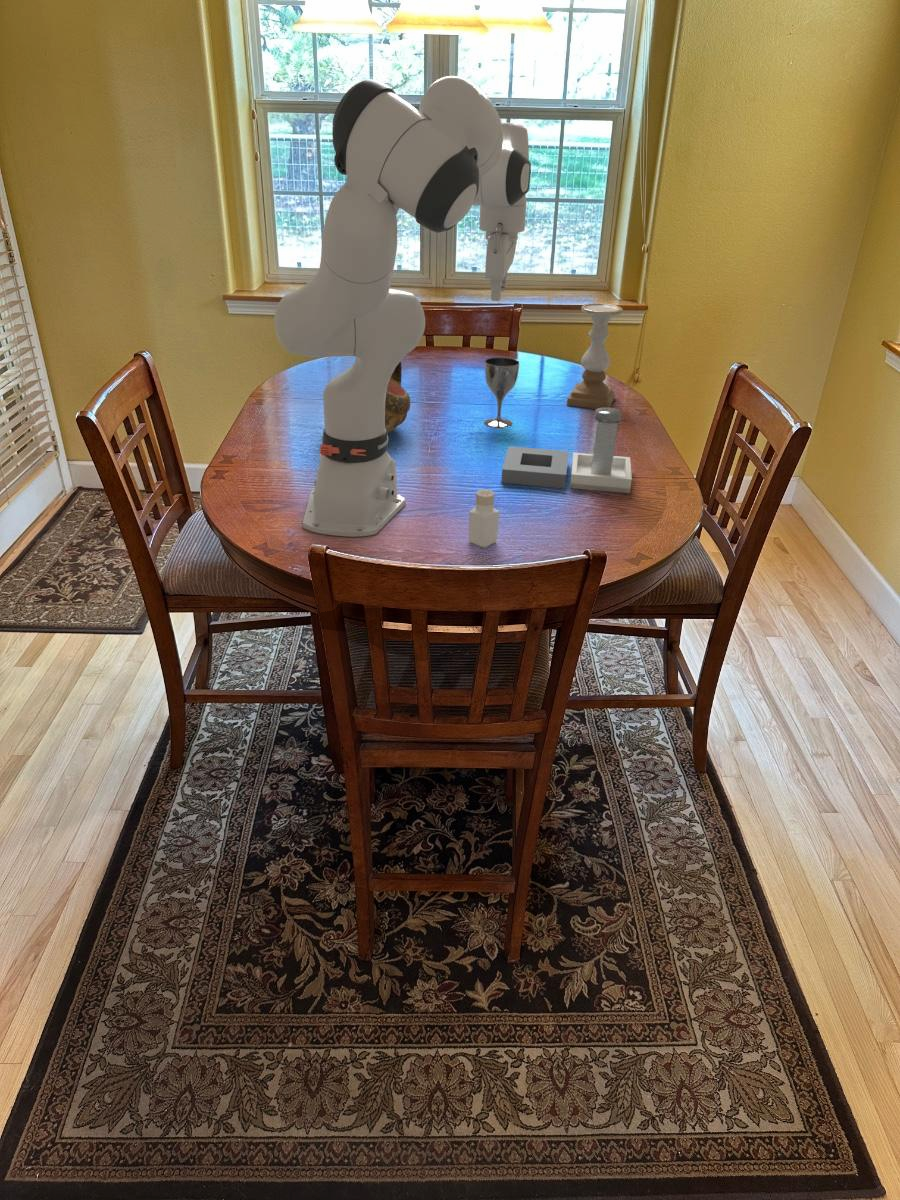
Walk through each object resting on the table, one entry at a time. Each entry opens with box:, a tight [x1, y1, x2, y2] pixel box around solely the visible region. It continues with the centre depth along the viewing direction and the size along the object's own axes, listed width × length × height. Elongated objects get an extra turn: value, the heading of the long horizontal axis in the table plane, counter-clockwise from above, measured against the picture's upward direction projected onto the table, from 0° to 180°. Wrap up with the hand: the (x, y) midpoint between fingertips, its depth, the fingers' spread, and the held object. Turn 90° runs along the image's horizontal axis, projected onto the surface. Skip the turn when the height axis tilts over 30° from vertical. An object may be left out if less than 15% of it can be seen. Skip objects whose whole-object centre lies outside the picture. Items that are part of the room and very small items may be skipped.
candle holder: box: [566, 302, 624, 410], centre depth 204 cm, size 11×11×24 cm
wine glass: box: [483, 356, 520, 429], centre depth 191 cm, size 8×8×15 cm
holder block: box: [501, 446, 570, 489], centre depth 168 cm, size 13×13×3 cm
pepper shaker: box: [467, 488, 500, 548], centre depth 140 cm, size 4×4×10 cm
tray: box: [569, 452, 633, 494], centre depth 167 cm, size 12×12×3 cm
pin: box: [591, 407, 623, 476], centre depth 163 cm, size 5×5×14 cm
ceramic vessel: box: [385, 360, 412, 435], centre depth 179 cm, size 17×26×25 cm, turn 161°
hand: (498, 295), depth 162 cm, fingers open, 8 cm apart
